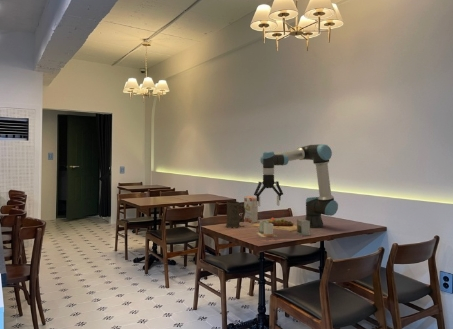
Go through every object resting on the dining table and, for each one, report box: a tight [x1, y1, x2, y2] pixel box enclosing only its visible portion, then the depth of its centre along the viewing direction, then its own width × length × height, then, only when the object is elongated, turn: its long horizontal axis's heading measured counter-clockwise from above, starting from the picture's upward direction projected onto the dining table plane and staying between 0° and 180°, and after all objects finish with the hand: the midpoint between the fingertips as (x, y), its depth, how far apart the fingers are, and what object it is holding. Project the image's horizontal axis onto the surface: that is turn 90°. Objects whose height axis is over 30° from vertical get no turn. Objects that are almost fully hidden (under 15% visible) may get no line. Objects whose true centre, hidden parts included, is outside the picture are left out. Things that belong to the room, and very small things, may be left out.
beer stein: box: [225, 200, 245, 228], centre depth 285 cm, size 15×11×20 cm
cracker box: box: [243, 195, 259, 224], centre depth 307 cm, size 14×6×21 cm, turn 24°
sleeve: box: [263, 223, 275, 238], centre depth 244 cm, size 6×6×8 cm
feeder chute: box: [296, 218, 311, 237], centre depth 254 cm, size 6×8×10 cm
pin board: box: [254, 231, 278, 238], centre depth 248 cm, size 11×16×6 cm
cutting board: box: [251, 217, 297, 232], centre depth 281 cm, size 35×23×8 cm
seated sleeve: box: [258, 220, 269, 234], centre depth 253 cm, size 6×6×8 cm
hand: (268, 205), depth 244 cm, fingers open, 13 cm apart
